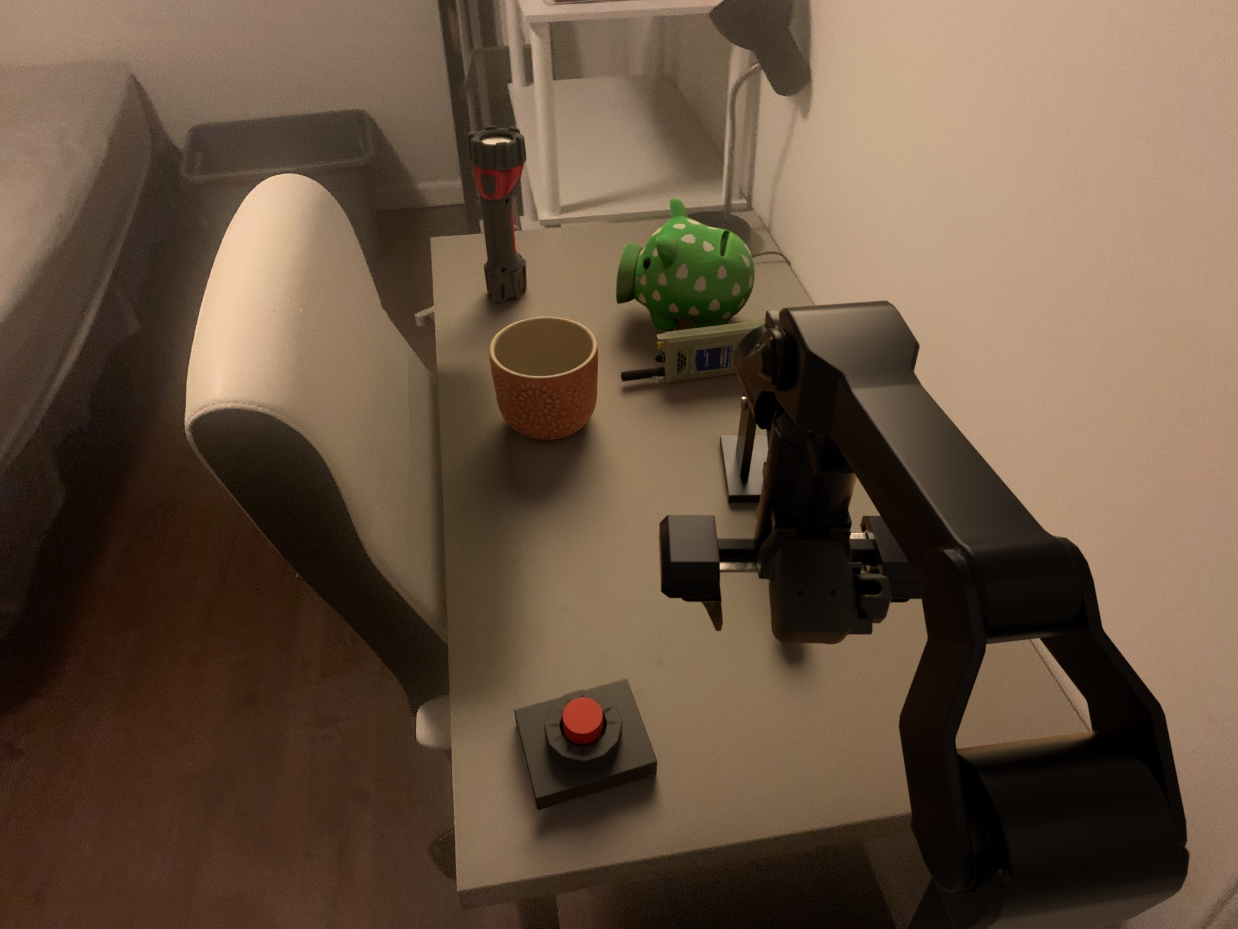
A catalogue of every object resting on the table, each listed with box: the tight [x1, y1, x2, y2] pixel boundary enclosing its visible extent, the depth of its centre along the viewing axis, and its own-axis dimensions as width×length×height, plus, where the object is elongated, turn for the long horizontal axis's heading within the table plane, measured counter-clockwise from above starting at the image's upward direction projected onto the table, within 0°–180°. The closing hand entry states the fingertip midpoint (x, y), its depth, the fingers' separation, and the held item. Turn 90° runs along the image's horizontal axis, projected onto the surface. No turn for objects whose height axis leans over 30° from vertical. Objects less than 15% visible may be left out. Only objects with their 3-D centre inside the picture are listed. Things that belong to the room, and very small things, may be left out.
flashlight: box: [467, 124, 528, 304], centre depth 113 cm, size 8×8×23 cm
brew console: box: [513, 678, 658, 812], centre depth 66 cm, size 10×8×4 cm
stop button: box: [562, 697, 603, 745], centre depth 64 cm, size 3×3×2 cm
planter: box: [488, 316, 599, 441], centre depth 95 cm, size 12×12×11 cm
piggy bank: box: [615, 197, 756, 333], centre depth 110 cm, size 14×18×15 cm
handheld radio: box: [620, 319, 765, 384], centre depth 103 cm, size 7×3×25 cm
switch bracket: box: [719, 391, 768, 504], centre depth 88 cm, size 10×8×12 cm
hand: (777, 626), depth 62 cm, fingers open, 9 cm apart
